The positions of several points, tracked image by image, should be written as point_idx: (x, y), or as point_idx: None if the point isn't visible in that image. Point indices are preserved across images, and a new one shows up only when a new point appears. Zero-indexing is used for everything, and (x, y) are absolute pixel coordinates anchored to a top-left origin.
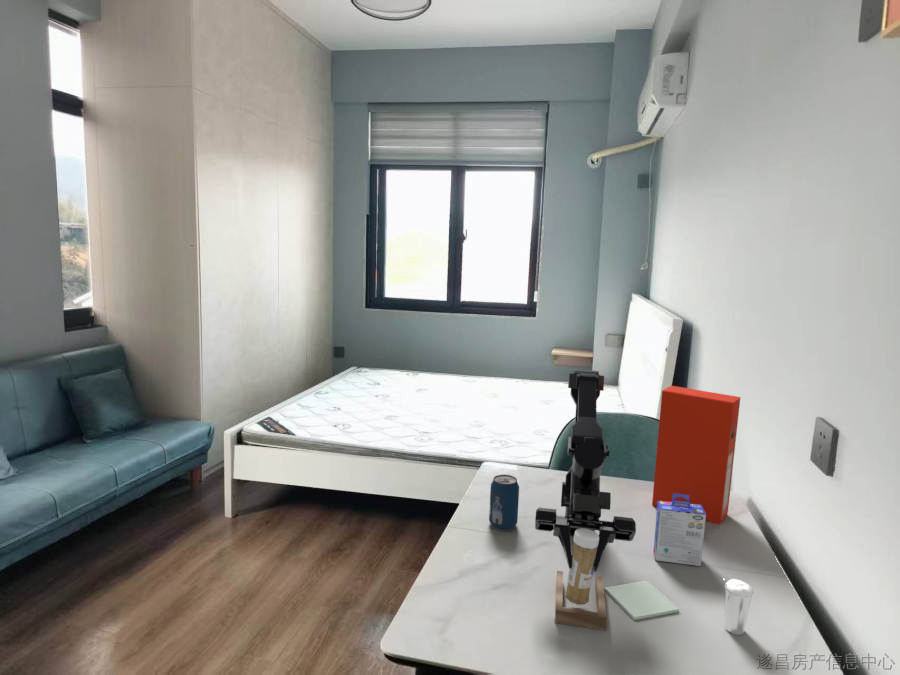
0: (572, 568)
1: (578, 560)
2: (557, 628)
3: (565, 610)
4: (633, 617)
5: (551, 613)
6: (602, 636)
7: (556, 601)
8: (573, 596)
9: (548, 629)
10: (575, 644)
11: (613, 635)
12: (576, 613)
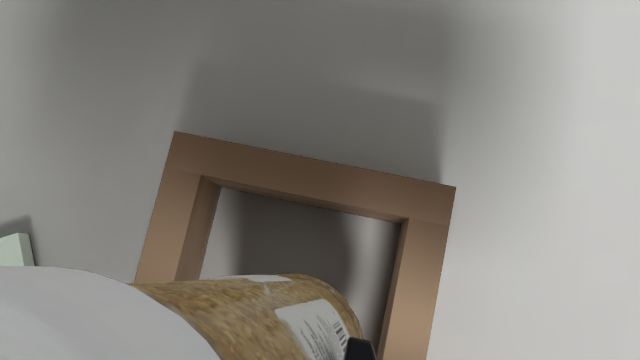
0: (331, 350)
1: (266, 320)
2: (434, 154)
3: (396, 187)
4: (22, 238)
5: (447, 279)
6: (226, 105)
7: (436, 279)
8: (325, 292)
9: (482, 144)
10: (368, 44)
11: (171, 115)
12: (335, 163)
